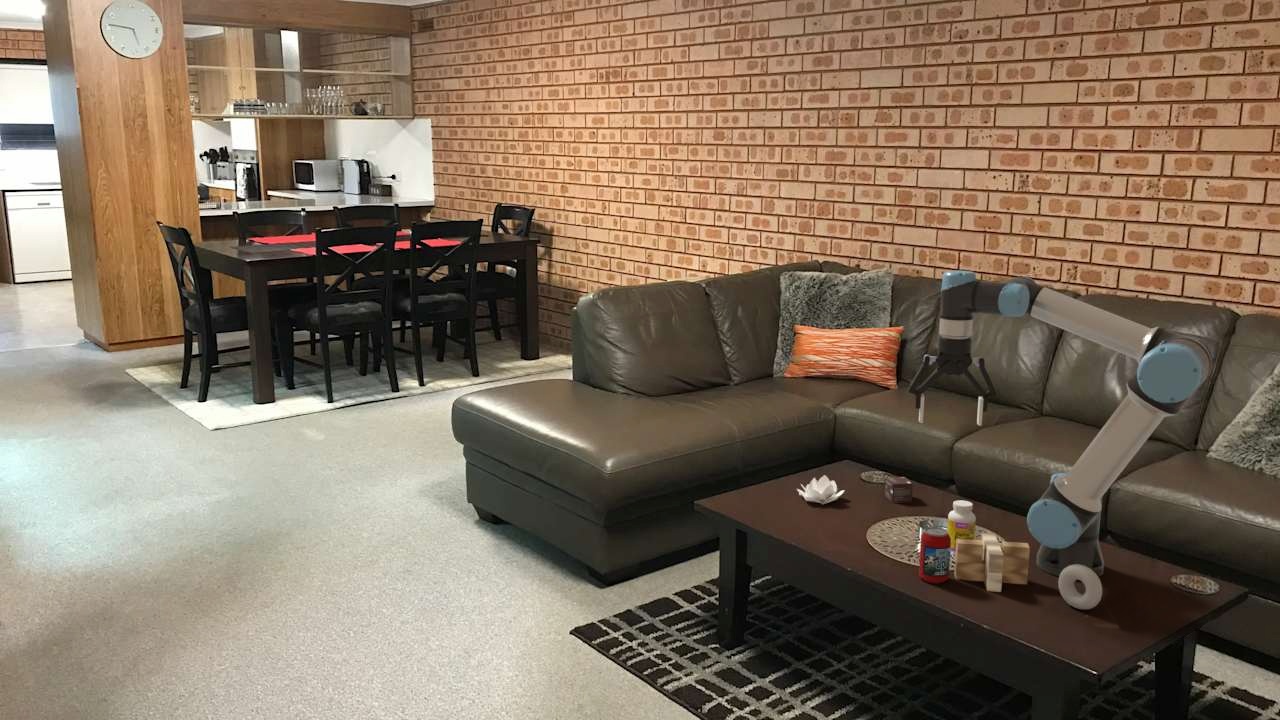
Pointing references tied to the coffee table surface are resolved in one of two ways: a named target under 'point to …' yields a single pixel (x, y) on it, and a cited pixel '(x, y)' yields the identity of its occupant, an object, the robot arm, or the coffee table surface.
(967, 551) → the oak rail
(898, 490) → the box
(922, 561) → the beverage can
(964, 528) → the supplement bottle
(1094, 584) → the donut
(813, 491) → the lotus flower
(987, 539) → the notched cream plank
